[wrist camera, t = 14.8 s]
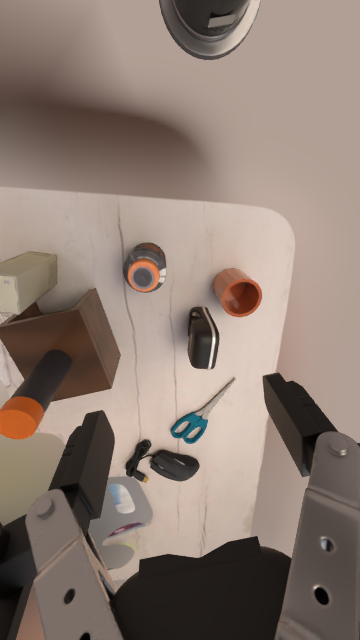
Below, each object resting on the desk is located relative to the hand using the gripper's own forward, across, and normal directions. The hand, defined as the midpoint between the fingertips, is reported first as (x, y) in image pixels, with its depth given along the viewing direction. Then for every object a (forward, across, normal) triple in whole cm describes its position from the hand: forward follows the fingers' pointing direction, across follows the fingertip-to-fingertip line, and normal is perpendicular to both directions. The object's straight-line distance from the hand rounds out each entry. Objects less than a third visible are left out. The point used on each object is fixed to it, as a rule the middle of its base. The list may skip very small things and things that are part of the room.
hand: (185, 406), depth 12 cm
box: (+33, +20, -4) cm, 39 cm away
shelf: (+33, +19, +8) cm, 39 cm away
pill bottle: (+33, +3, -2) cm, 33 cm away
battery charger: (+33, -2, +12) cm, 35 cm away
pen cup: (+33, -10, +6) cm, 35 cm away
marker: (+23, +19, +8) cm, 31 cm away
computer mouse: (+33, +13, +48) cm, 60 cm away
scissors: (+33, -1, +33) cm, 47 cm away
